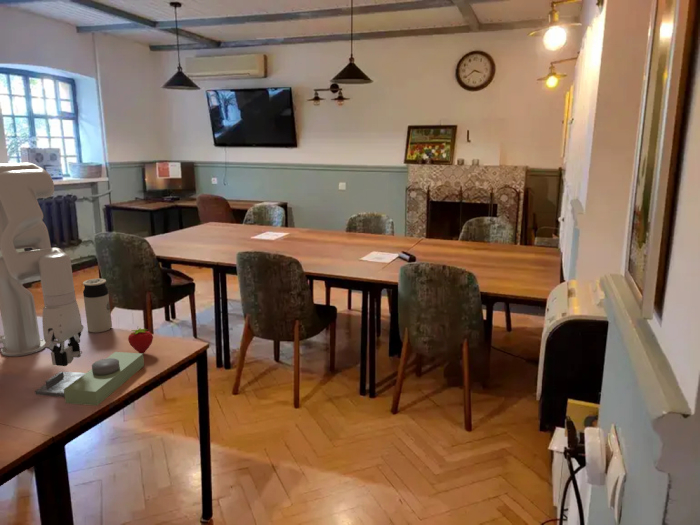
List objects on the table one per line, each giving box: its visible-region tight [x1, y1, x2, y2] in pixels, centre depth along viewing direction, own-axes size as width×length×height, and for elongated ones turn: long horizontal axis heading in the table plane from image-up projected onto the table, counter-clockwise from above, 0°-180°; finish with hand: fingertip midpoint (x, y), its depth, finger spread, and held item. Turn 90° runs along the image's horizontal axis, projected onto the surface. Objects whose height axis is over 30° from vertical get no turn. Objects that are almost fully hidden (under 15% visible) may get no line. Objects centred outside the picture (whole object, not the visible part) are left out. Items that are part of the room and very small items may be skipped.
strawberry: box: [127, 327, 154, 355], centre depth 166 cm, size 6×8×10 cm
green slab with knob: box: [64, 351, 145, 406], centre depth 147 cm, size 9×24×6 cm, turn 173°
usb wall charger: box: [50, 345, 83, 366], centre depth 144 cm, size 4×7×4 cm, turn 104°
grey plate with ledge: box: [34, 371, 86, 398], centre depth 146 cm, size 10×12×2 cm
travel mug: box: [82, 278, 113, 334], centre depth 185 cm, size 8×8×18 cm
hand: (68, 360), depth 144 cm, fingers closed on usb wall charger, 4 cm apart
